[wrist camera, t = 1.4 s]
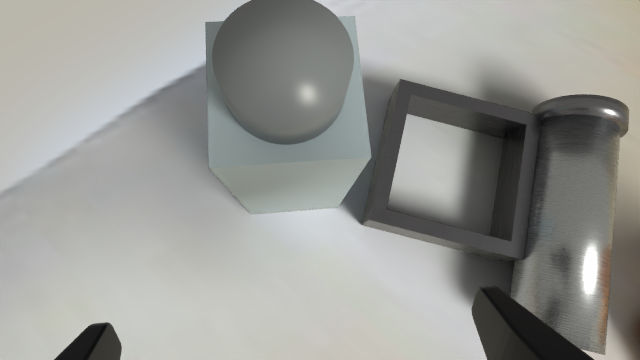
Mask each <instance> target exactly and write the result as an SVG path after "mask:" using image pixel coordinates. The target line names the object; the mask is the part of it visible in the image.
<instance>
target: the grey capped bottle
mask: <svg viewBox="0 0 640 360" xmlns="http://www.w3.org/2000/svg"><path fill="white" fill-rule="evenodd" d="M206 69H207V115H208V161H209V169H210V170H211V171H212V172H213V173H214V174H215V175H216V177H217V178H218V179H219V180H220V181H221V182H222V183H223V184H224V185H225V186H226V188H227V189H228V190H229V191H230V192H231V193H232V194H233V195H234V196H235V197H236V198H237V200H238V201H239V202H240V203H241V204H242V205H243V206H244V207H245V208H246V209H247V210H248V212H249V213H250V214H263V213H276V212H289V211H302V210H315V209H328V208H338V206H339V205H340V203H341V202H342V200H343V199H344V197H345V196H346V194H347V193H348V191H349V190H350V188H351V187H352V185H353V184H354V182H355V181H356V179H357V178H358V176H359V175H360V173H361V172H362V170H363V169H364V167H365V166H366V164H367V163H368V161H369V160H370V159H371V149H370V141H369V132H368V124H367V115H366V107H365V99H364V90H363V82H362V73H361V65H360V57H359V48H358V40H357V31H356V23H355V16H350V17H337V16H336V15H335V14H333V13H332V12H331V11H330V10H329V9H327V8H326V7H324V6H323V5H321V4H319V3H318V2H316V1H314V0H251V1H249V2H247V3H245V4H243V5H242V6H241V7H239V8H237V9H236V10H235V11H234V12H232V13H231V14H230V15H229V17H228V18H227V19H226V20H225V21H223V22H222V21H221V22H206Z"/></svg>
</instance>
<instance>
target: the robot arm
mask: <svg viewBox="0 0 640 360" xmlns="http://www.w3.org/2000/svg"><path fill="white" fill-rule="evenodd" d="M472 316H473V319H474V322H475V325H476V328H477V331H478V334H479V337H480V340H481V343H482V345H483V348H484V351H485V354H486V357H487V360H594V359H593V358H591V357H590V356H589V355H587V354H586V353H585V352H583V351H582V350H581V349H579V348H578V347H577V346H575V345H574V344H573V343H571V342H570V341H569V340H567V339H566V338H565V337H563V336H562V335H561V334H559V333H558V332H557V331H555V330H554V329H553V328H551V327H550V326H549V325H547V324H546V323H545V322H543V321H542V320H541V319H539V318H538V317H537V316H535V315H534V314H533V313H531V312H530V311H529V310H527V309H526V308H525V307H523V306H522V305H521V304H519V303H518V302H517V301H515V300H514V299H513V298H511V297H510V296H509V295H507V294H506V293H505V292H503V291H502V290H501V289H499V288H498V287H496V286H484V287H479V288H478V290H477V292H476V296H475V299H474V302H473V306H472ZM121 349H122V348H121V342H120V340H119V338H118V336H117V334H116V332H115V330H114V328H113V326H112V325H111V324H110V323H107V322H106V323H95V324H92V325H90V326H88V327H87V328H86V329H85V330H84V331H83V332H82V333H81V334H80V335H79V336H78V337H77V338H76V339H75V340H74V341H73V342H72V343H71V344H70V345H69V346H68V347H67V348H66V349H65V350H63V351H62V352H61V353H60V354H59V355H58V356H57V357H56V358H55V359H54V360H120V357H121Z"/></svg>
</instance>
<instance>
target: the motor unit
mask: <svg viewBox="0 0 640 360" xmlns="http://www.w3.org/2000/svg"><path fill="white" fill-rule="evenodd" d="M407 114H411V115H415V116H419V117H423V118H426V119H430V120H434V121H438V122H442V123H446V124H450V125H454V126H457V127H461V128H465V129H469V130H473V131H477V132H481V133H484V134H488V135H492V136H496V137H500V138H504V142H503V149H502V156H501V163H500V170H499V177H498V184H497V191H496V197H495V204H494V211H493V218H492V225H491V232H490V236H487V235H483V234H480V233H476V232H472V231H468V230H464V229H460V228H456V227H453V226H449V225H445V224H441V223H437V222H433V221H429V220H425V219H422V218H418V217H414V216H410V215H406V214H402V213H398V212H395V211H391V210H387V205H388V200H389V195H390V191H391V186H392V181H393V177H394V172H395V167H396V162H397V158H398V153H399V148H400V144H401V139H402V134H403V129H404V125H405V120H406V115H407ZM628 123H629V109H628V107H627V106H626V105H625V104H624V103H622V102H620V101H618V100H616V99H613V98H610V97H605V96H599V95H584V94H583V95H568V96H562V97H557V98H553V99H550V100H547V101H545V102H542V103H541V104H539V105H538V106H536V107H535V108H534V109H533V111H532V113H529V112H525V111H522V110H518V109H514V108H510V107H506V106H502V105H498V104H494V103H491V102H487V101H483V100H479V99H475V98H471V97H467V96H464V95H460V94H456V93H452V92H448V91H444V90H440V89H436V88H433V87H429V86H425V85H421V84H417V83H413V82H409V81H405V80H402V79H400V81H399V82H398V84H397V86H396V88H395V90H394V92H393V93H392V95H391V97H390V101H389V105H388V110H387V114H386V119H385V123H384V128H383V132H382V136H381V141H380V145H379V150H378V154H377V159H376V163H375V167H374V172H373V176H372V181H371V185H370V190H369V194H368V198H367V203H366V207H365V212H364V216H363V221H362V225H364V226H368V227H372V228H376V229H379V230H383V231H387V232H391V233H395V234H399V235H403V236H406V237H410V238H414V239H418V240H422V241H426V242H430V243H434V244H437V245H441V246H445V247H449V248H453V249H457V250H461V251H464V252H468V253H472V254H476V255H480V256H484V257H488V258H492V259H495V260H499V261H504V260H515V262H514V270H513V278H512V286H511V294H510V297H511V298H513V299H514V300H515V301H517V302H518V303H519V304H521V305H522V306H523V307H525V308H526V309H527V310H529V311H530V312H531V313H533V314H534V315H535V316H537V317H538V318H539V319H541V320H542V321H543V322H545V323H546V324H547V325H549V326H550V327H551V328H553V329H554V330H555V331H557V332H558V333H559V334H561V335H562V336H563V337H565V338H566V339H567V340H569V341H570V342H571V343H573V344H574V345H575V346H577V347H578V348H579V349H583V350H587V351H591V352H595V353H599V354H603V355H605V349H606V335H607V320H608V305H609V291H610V276H611V262H612V247H613V232H614V218H615V203H616V189H617V174H618V159H619V145H620V138H621V137H623V136H624V135H625V134H626V133H627V131H628Z"/></svg>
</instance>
